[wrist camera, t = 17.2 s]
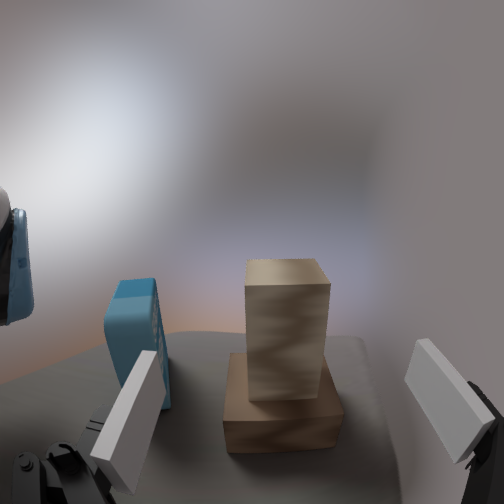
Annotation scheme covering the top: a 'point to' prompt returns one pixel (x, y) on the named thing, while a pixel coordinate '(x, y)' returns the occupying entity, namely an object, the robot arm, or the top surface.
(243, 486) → the top surface
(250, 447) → the block
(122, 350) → the data package
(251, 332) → the birch block
